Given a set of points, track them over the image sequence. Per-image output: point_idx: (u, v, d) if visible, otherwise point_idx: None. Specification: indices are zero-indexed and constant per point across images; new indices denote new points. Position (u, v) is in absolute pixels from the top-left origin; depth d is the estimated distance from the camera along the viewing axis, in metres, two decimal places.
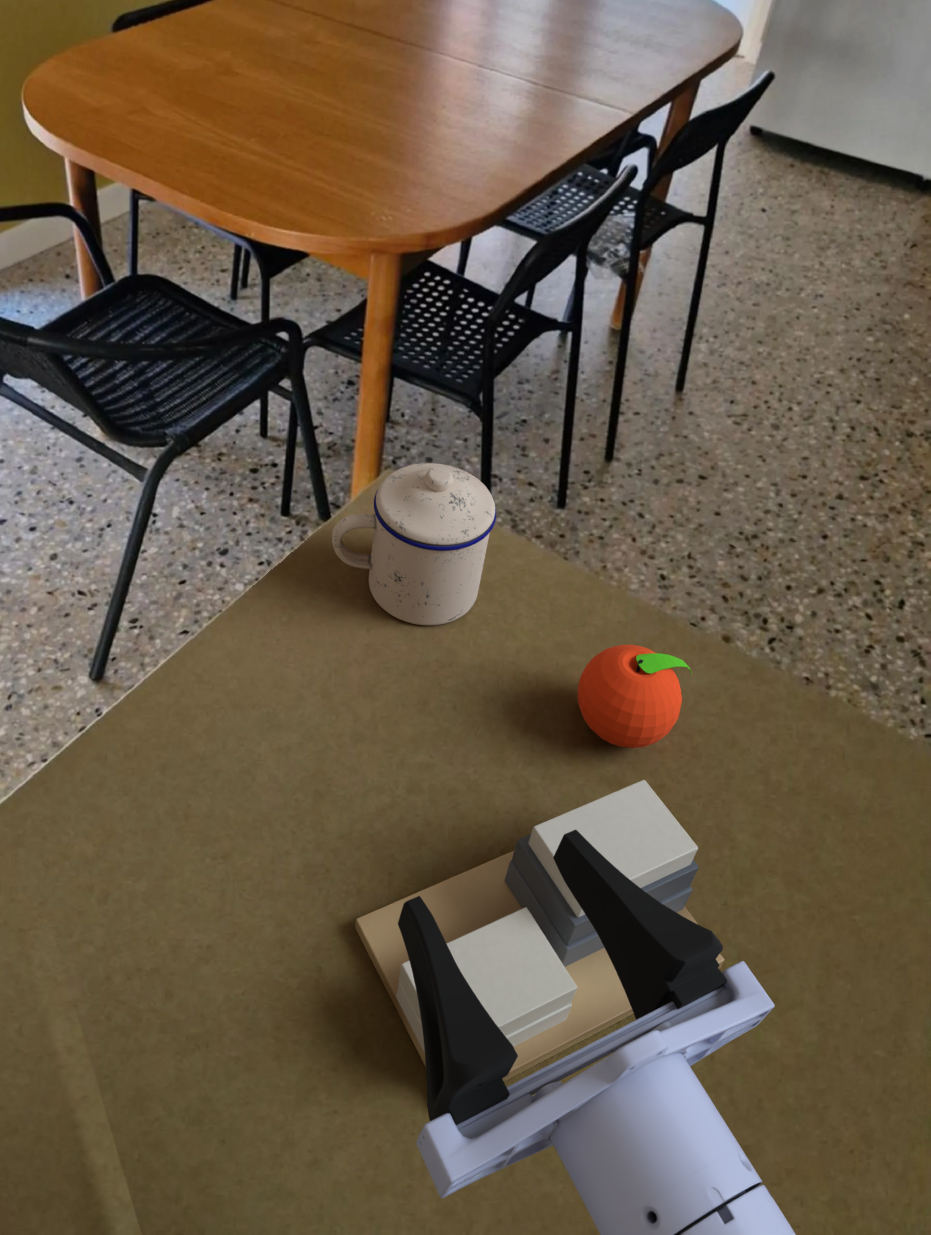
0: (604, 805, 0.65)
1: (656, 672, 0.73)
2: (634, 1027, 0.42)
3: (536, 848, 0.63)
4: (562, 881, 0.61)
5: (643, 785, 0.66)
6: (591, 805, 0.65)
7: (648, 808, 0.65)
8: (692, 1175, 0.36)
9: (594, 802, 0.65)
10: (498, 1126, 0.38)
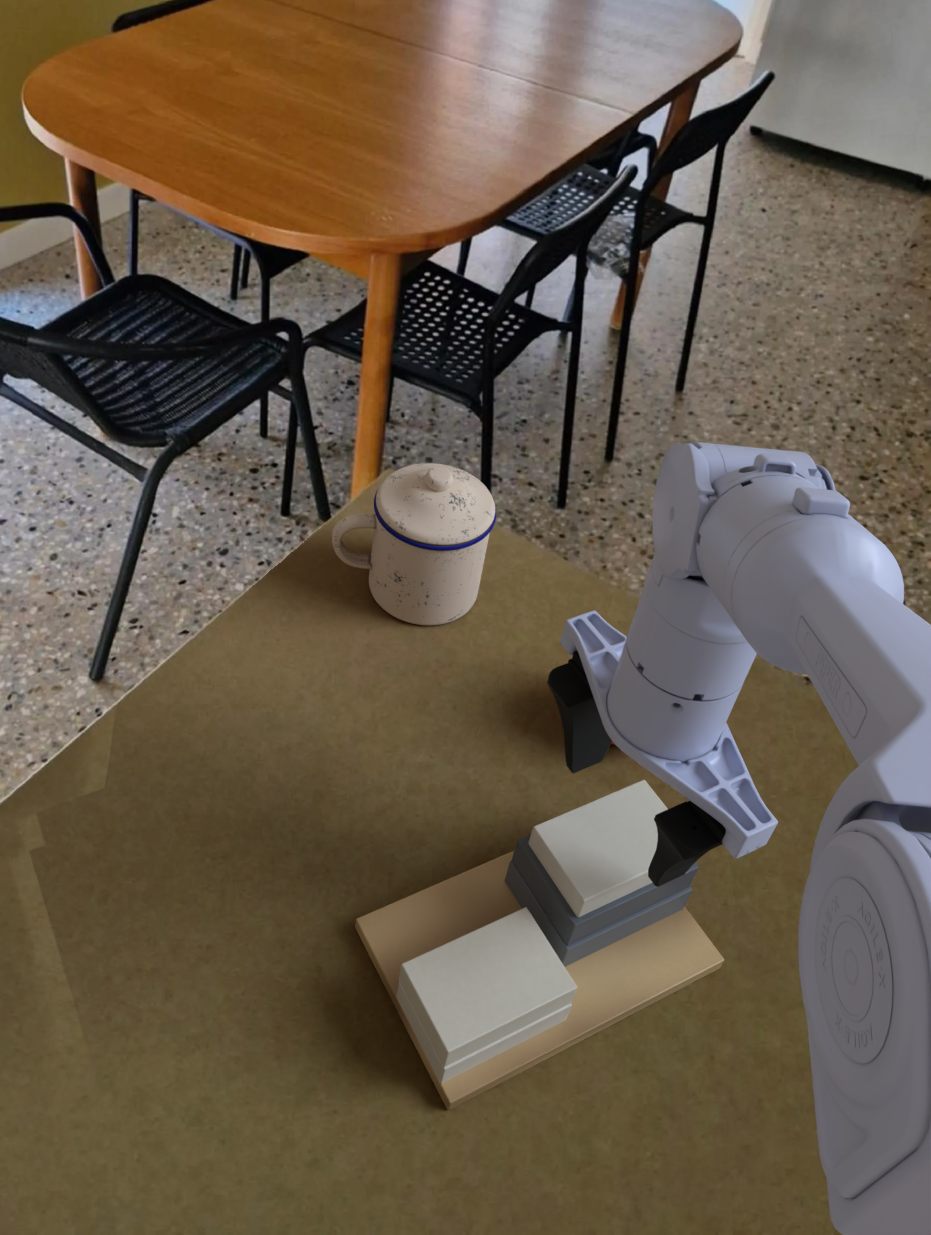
0: (604, 805, 0.65)
1: None
2: None
3: (536, 848, 0.63)
4: (562, 881, 0.61)
5: (643, 785, 0.66)
6: (591, 805, 0.65)
7: (648, 808, 0.65)
8: None
9: (594, 802, 0.65)
10: None
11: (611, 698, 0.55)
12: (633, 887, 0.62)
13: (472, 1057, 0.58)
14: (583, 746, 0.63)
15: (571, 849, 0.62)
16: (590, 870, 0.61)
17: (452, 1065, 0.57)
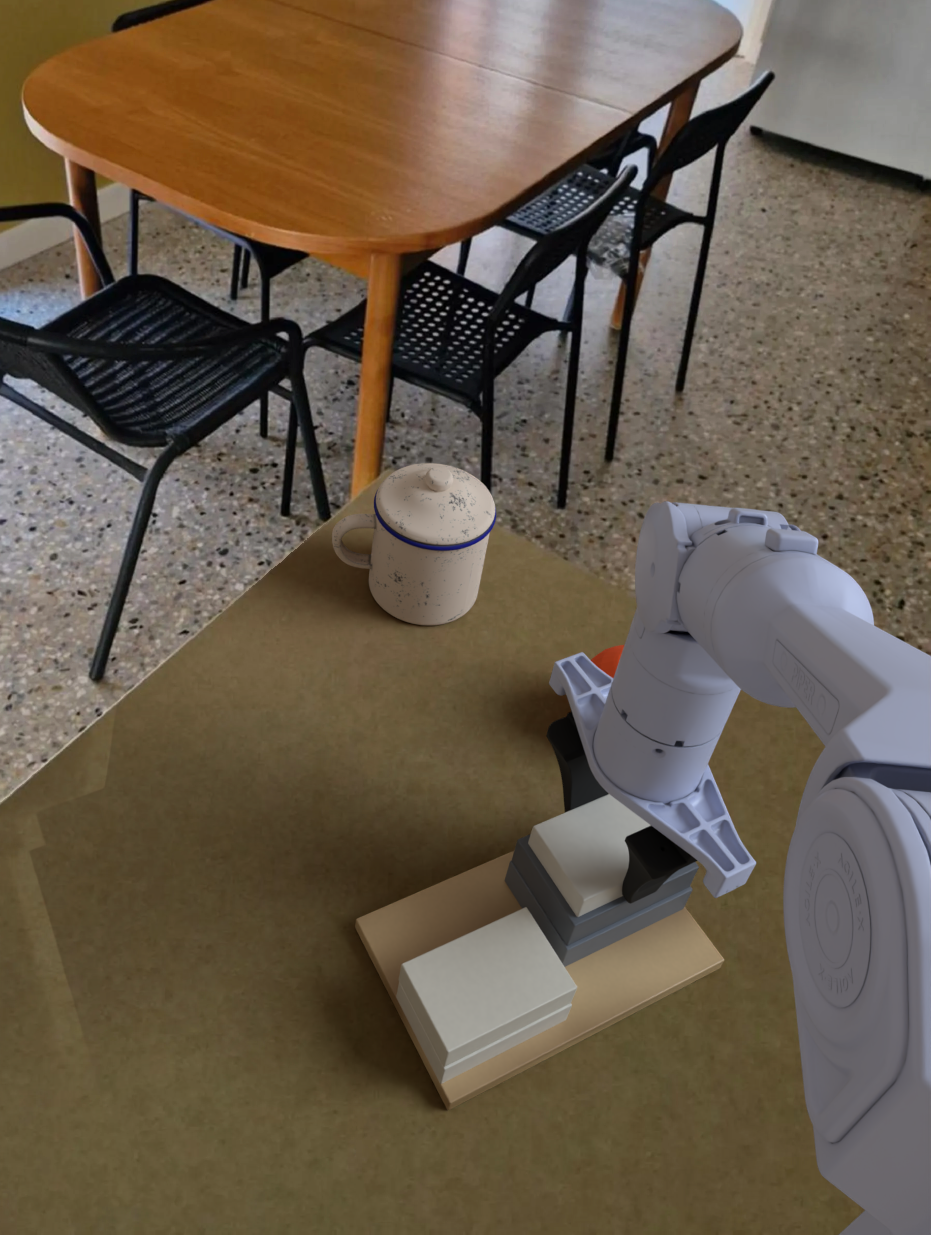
0: (603, 805, 0.65)
1: None
2: None
3: (536, 848, 0.63)
4: (562, 881, 0.62)
5: None
6: (591, 805, 0.65)
7: None
8: None
9: (594, 802, 0.65)
10: None
11: (597, 741, 0.58)
12: None
13: (472, 1057, 0.58)
14: (582, 796, 0.64)
15: (571, 848, 0.62)
16: (590, 870, 0.61)
17: (452, 1065, 0.57)
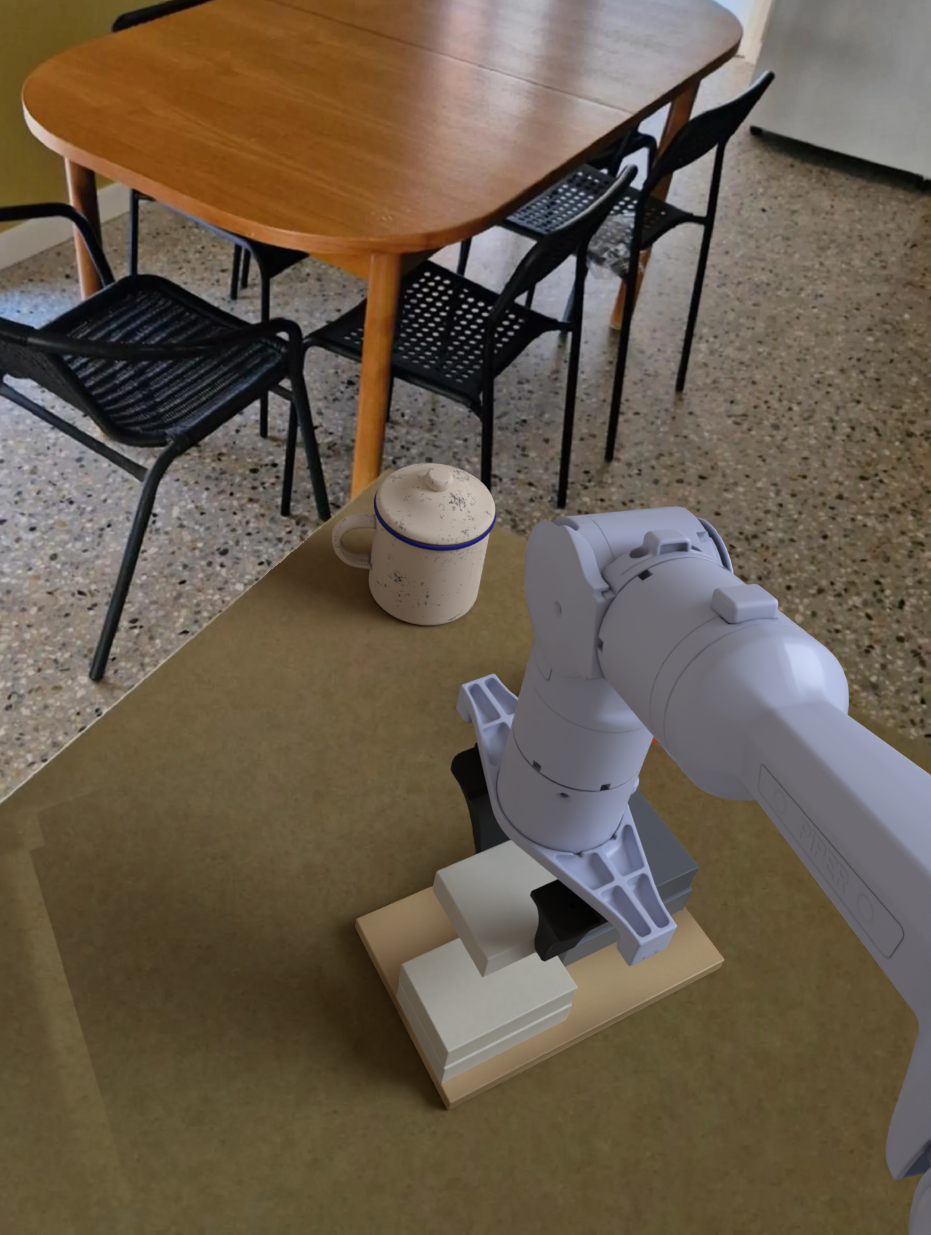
0: None
1: None
2: None
3: (440, 895, 0.56)
4: (466, 935, 0.54)
5: None
6: (504, 846, 0.57)
7: None
8: None
9: (508, 842, 0.57)
10: None
11: (500, 779, 0.50)
12: None
13: (472, 1057, 0.58)
14: (493, 837, 0.56)
15: (478, 898, 0.55)
16: (497, 923, 0.54)
17: (452, 1065, 0.57)
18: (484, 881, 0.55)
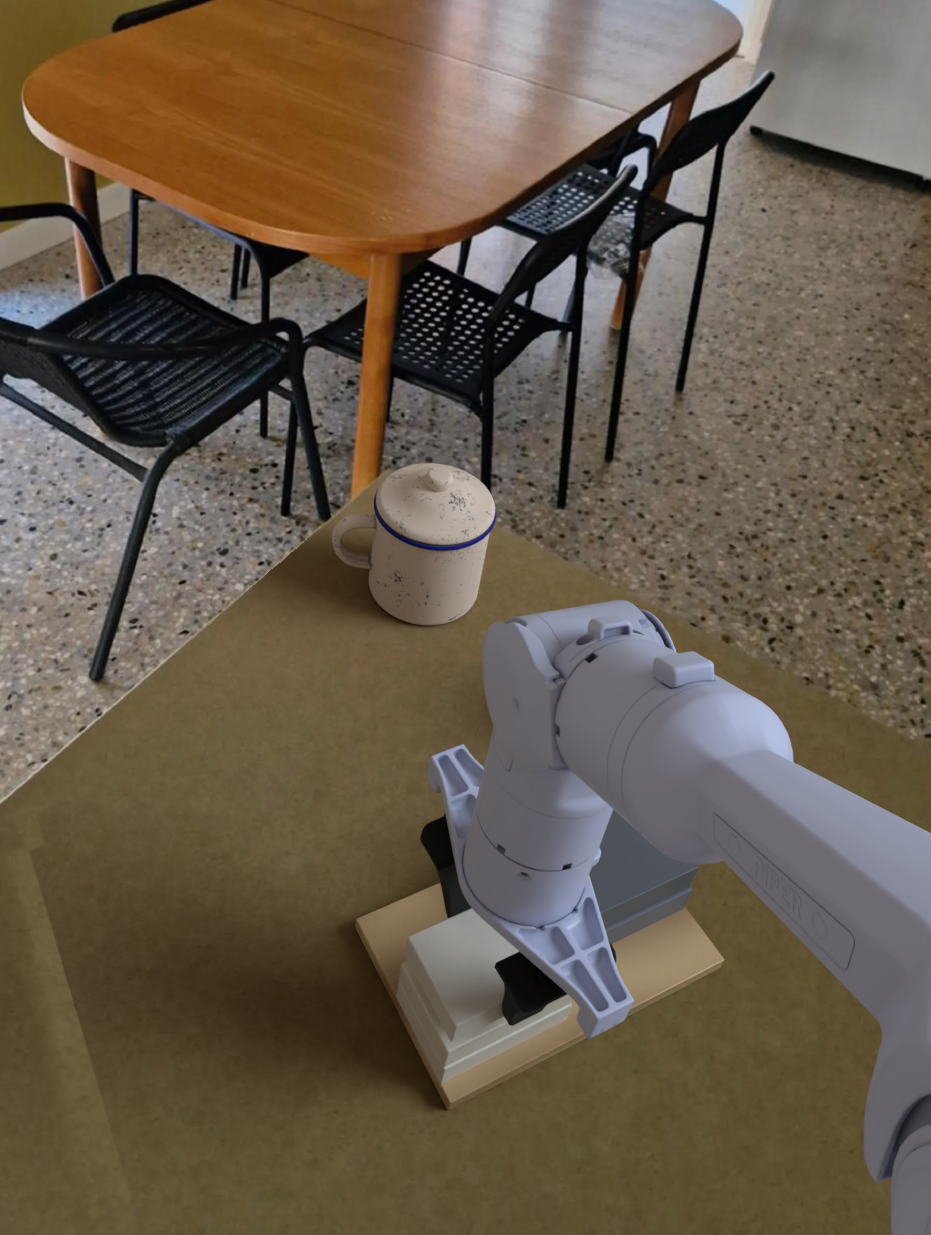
0: None
1: None
2: None
3: (411, 960, 0.57)
4: (435, 1000, 0.56)
5: None
6: None
7: None
8: None
9: None
10: None
11: (465, 854, 0.52)
12: None
13: (472, 1057, 0.58)
14: (463, 902, 0.58)
15: (447, 963, 0.56)
16: (466, 989, 0.55)
17: (452, 1065, 0.57)
18: (454, 946, 0.57)
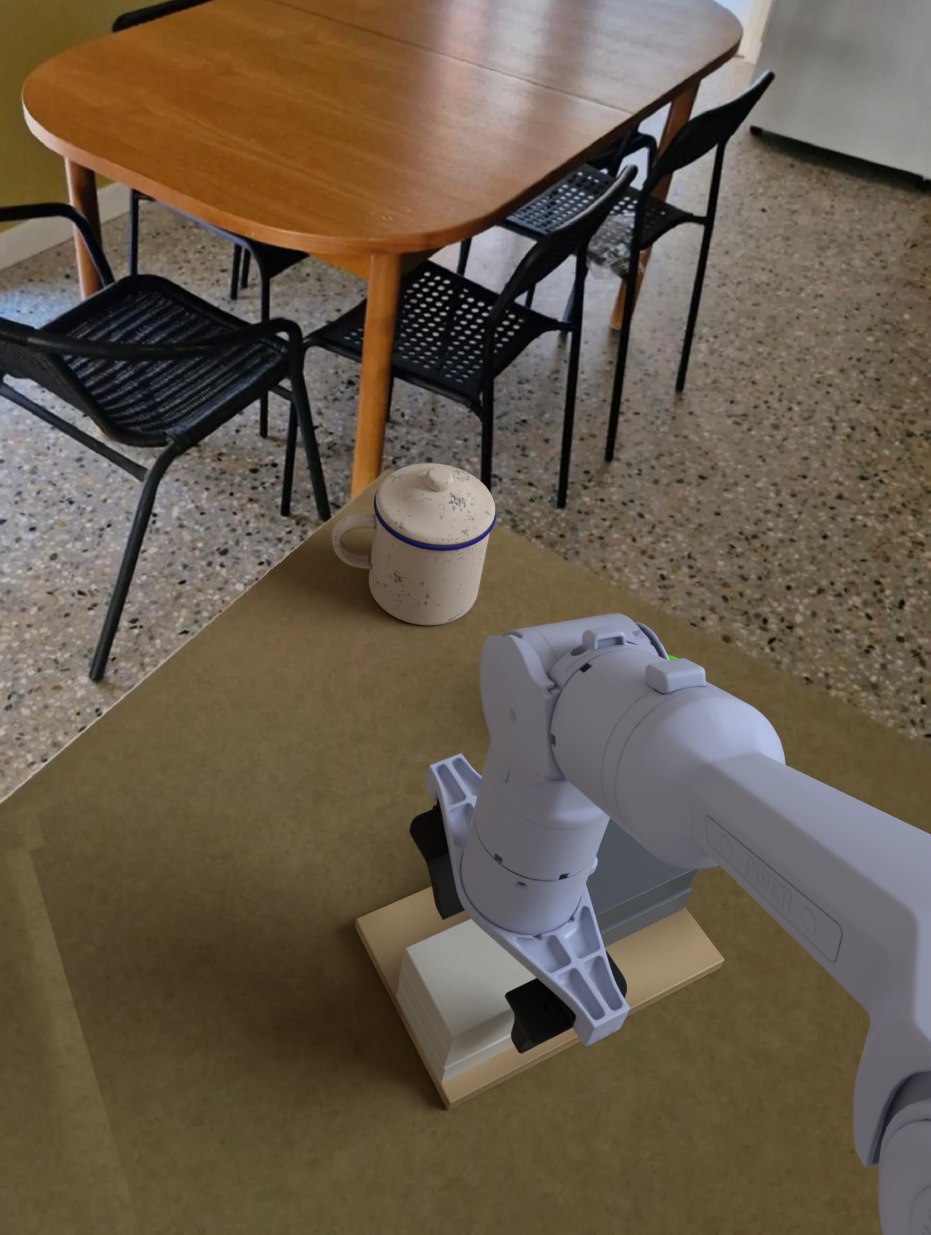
0: None
1: None
2: None
3: (409, 971, 0.58)
4: (433, 1011, 0.56)
5: None
6: (471, 922, 0.59)
7: None
8: None
9: None
10: None
11: (463, 863, 0.52)
12: (511, 1017, 0.57)
13: (472, 1057, 0.58)
14: (452, 894, 0.59)
15: (445, 974, 0.57)
16: (463, 1000, 0.56)
17: (452, 1065, 0.57)
18: (451, 957, 0.58)
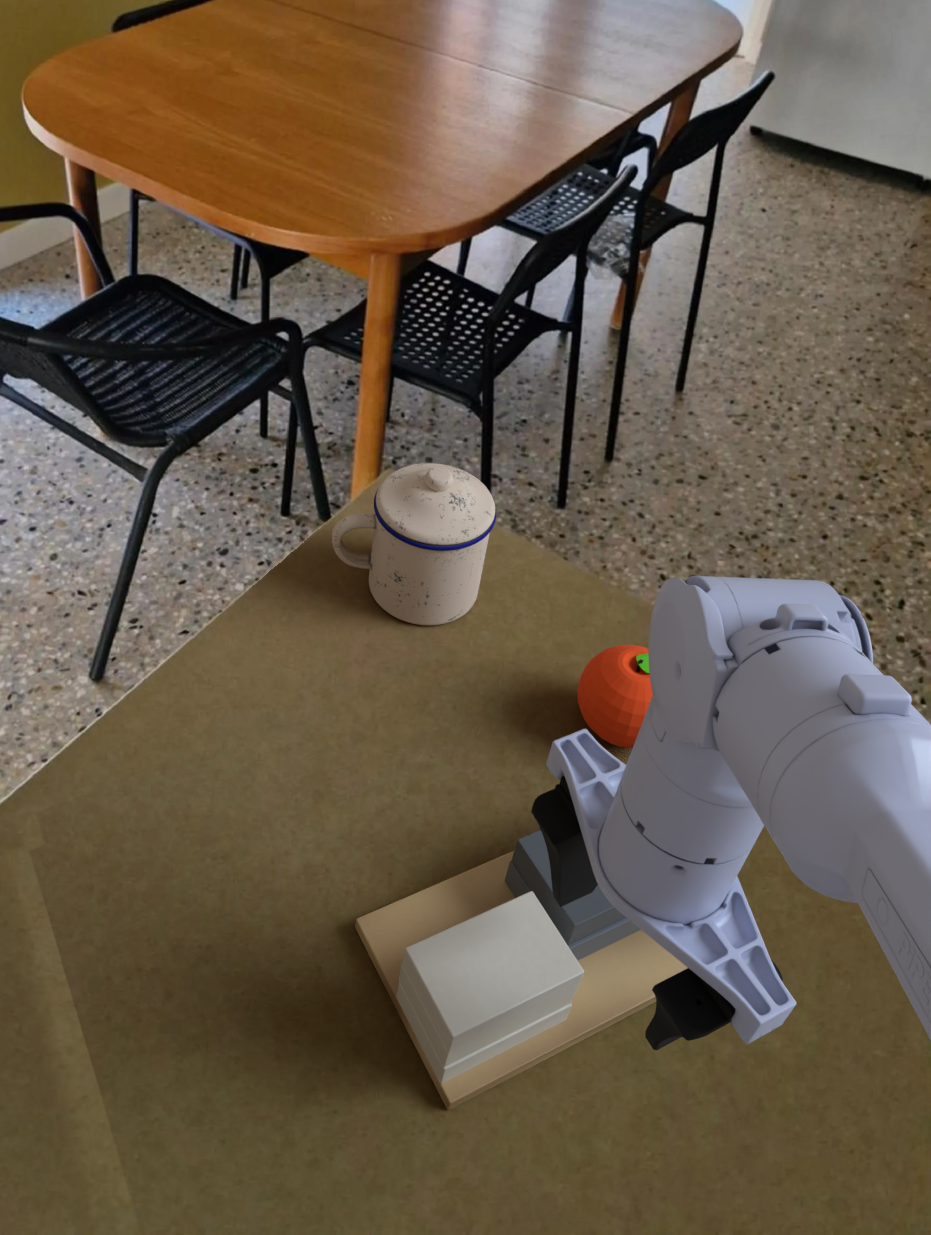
0: (485, 921, 0.59)
1: None
2: None
3: (409, 971, 0.58)
4: (433, 1011, 0.56)
5: (530, 897, 0.61)
6: (471, 922, 0.59)
7: (533, 924, 0.59)
8: None
9: (475, 918, 0.59)
10: None
11: (603, 845, 0.48)
12: (511, 1017, 0.57)
13: (472, 1057, 0.58)
14: (572, 879, 0.55)
15: (445, 974, 0.57)
16: (463, 1000, 0.56)
17: (452, 1065, 0.57)
18: (451, 957, 0.58)
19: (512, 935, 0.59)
